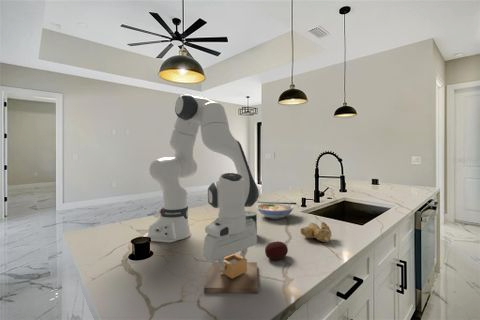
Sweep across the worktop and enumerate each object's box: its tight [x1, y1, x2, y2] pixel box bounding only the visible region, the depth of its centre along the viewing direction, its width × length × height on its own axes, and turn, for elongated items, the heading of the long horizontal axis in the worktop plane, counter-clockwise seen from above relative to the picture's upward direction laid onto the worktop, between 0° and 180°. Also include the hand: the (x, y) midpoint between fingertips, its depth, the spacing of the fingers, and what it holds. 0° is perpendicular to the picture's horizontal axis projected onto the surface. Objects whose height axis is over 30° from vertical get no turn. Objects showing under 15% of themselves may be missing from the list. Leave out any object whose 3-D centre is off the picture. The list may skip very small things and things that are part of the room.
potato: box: [264, 240, 289, 261], centre depth 92 cm, size 7×10×6 cm
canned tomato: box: [245, 210, 258, 233], centre depth 116 cm, size 8×8×11 cm
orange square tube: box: [219, 253, 248, 279], centre depth 78 cm, size 6×6×4 cm
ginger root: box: [299, 221, 333, 243], centre depth 111 cm, size 16×16×8 cm
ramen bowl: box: [256, 201, 297, 220], centre depth 147 cm, size 25×23×8 cm
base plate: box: [203, 259, 259, 294], centre depth 78 cm, size 16×16×6 cm
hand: (232, 265), depth 78 cm, fingers closed on orange square tube, 6 cm apart
